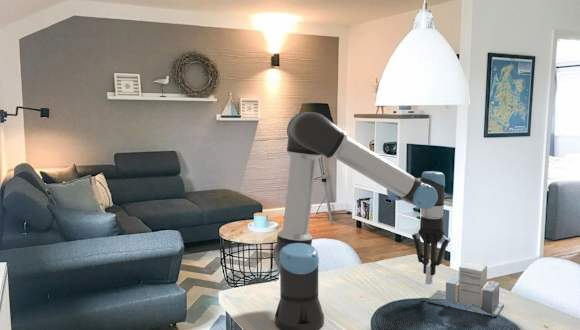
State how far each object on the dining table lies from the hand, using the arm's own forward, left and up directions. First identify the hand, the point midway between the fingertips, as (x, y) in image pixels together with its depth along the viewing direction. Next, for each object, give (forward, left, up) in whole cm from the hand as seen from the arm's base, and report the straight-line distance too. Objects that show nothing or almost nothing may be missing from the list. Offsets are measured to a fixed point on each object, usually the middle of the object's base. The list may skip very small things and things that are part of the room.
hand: (428, 283), depth 168 cm
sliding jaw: (0, -9, -4) cm, 10 cm away
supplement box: (+1, -15, -4) cm, 15 cm away
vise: (0, -12, -5) cm, 13 cm away
